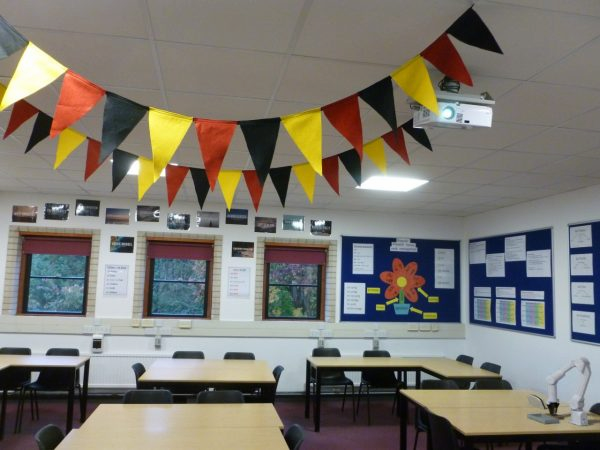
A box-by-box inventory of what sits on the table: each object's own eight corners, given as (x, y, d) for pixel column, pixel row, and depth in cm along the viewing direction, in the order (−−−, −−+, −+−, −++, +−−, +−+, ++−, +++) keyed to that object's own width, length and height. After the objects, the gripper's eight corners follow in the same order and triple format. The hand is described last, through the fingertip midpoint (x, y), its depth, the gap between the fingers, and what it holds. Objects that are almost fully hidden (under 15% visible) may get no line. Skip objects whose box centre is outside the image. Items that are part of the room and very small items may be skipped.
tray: (559, 423, 324) (559, 419, 324) (544, 424, 321) (544, 420, 321) (541, 416, 339) (541, 413, 340) (527, 417, 336) (527, 414, 336)
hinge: (549, 409, 362) (544, 396, 362) (543, 411, 361) (539, 398, 362) (534, 403, 378) (530, 391, 379) (529, 406, 377) (525, 393, 378)
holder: (563, 419, 334) (563, 416, 334) (553, 420, 332) (553, 417, 332) (553, 415, 343) (553, 413, 343) (543, 416, 340) (543, 413, 340)
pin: (558, 418, 336) (557, 408, 337) (553, 418, 335) (552, 408, 336) (553, 417, 340) (553, 406, 341) (548, 417, 339) (548, 407, 339)
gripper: (551, 391, 347) (552, 411, 345) (541, 393, 338) (542, 413, 337) (561, 393, 341) (562, 413, 339) (551, 395, 333) (552, 416, 331)
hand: (553, 413), depth 338 cm, fingers closed on pin, 4 cm apart
